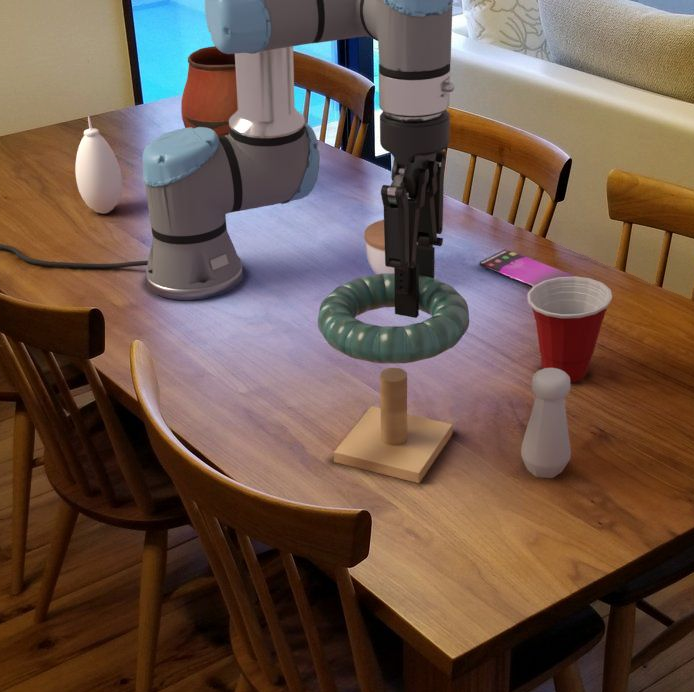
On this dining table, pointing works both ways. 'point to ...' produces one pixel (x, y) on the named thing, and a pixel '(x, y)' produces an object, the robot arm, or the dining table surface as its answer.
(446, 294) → the ring
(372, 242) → the trinket box
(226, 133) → the terracotta vase
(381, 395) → the peg stand
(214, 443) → the dining table surface
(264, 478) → the dining table surface
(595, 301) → the plastic cup
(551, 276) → the smartphone
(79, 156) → the white air blower bulb
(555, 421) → the salt shaker
